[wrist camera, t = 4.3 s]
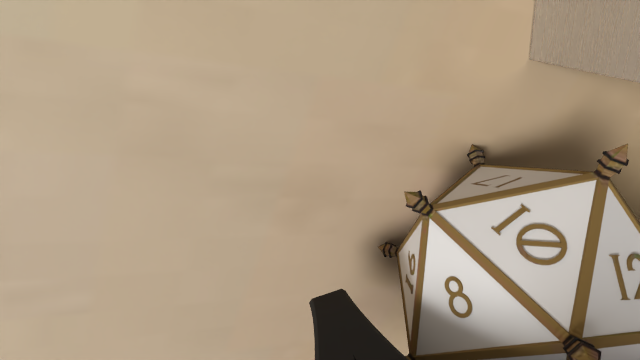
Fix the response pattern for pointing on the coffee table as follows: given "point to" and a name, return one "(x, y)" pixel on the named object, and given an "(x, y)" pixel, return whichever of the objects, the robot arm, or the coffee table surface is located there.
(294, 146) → the coffee table surface
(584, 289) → the game die
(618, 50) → the press frame
